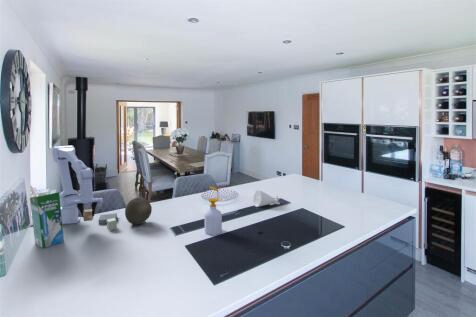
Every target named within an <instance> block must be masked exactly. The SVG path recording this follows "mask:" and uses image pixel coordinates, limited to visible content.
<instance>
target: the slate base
mask: <svg viewBox="0 0 476 317" xmlns="http://www.w3.org/2000/svg"><path fill="white" fill-rule="evenodd" d="M112 218H115V219H116V221H117V220H118V212H115V213H106V214H100V216H99V217H98V221H97V222H98V225H107V224H106V223H107V221H106V220H107V219H112Z"/></svg>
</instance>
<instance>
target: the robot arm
mask: <svg viewBox="0 0 476 317" xmlns="http://www.w3.org/2000/svg"><path fill="white" fill-rule="evenodd" d="M51 154H52V158H53V162H55V163H57V167H58V172H59V177H60V182H61V187H62V188H61V189H62V191H61V192H59V196H60V206H61V217H62V225H70V224H77V223H79V222H80V220H81V217H82V218H83V211H84V210H85V207H84V206H85V204H90V205H91V209H92V216H93V217H94V216H95V212H96V208H97V205H98V203H103V202H104V200H103V199H104V198H103V197H94V191H93V179H94V176H95V174H94V171H93V169H92V168H91V167H88V166H87V165H86V164H85V163H84V162H83V161H82V160H81V159H79V158H78V156H77V155H76V148H75V147H74V145H61V146H54V147H53V148H52V151H51ZM69 162H70V164H71V169H72V170H73V171H74V172H75V173H76V178H77V182H78V185H79V192H80V193H79V192H78V190H76V189H73V188H74V186H73V182H72V177H71V173H70V168H69V167H70V166H69ZM79 212H80V215H81V217H80V216H79ZM83 219H84V218H83Z"/></svg>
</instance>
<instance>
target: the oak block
mask: <svg viewBox="0 0 476 317" xmlns="http://www.w3.org/2000/svg"><path fill="white" fill-rule="evenodd" d="M93 220H94V216H92V208H89V209H84V211H83V222H90V221H93Z"/></svg>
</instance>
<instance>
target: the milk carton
mask: <svg viewBox="0 0 476 317" xmlns="http://www.w3.org/2000/svg"><path fill="white" fill-rule="evenodd" d="M59 194H60V192H59V191H58V192H53V193H49V192H48V191H44V192H40V193H37V196H34V197H33V196H32V197H29V201H30V211H31V219H32V227H33V236H34V244H36V245H37V246H39V247H41V248H42V249H46V248H48V247H52V246H54V245H57V244H60V243H62V242H65V239H64V227H63V224H62V217H61V206H60V196H59Z"/></svg>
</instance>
